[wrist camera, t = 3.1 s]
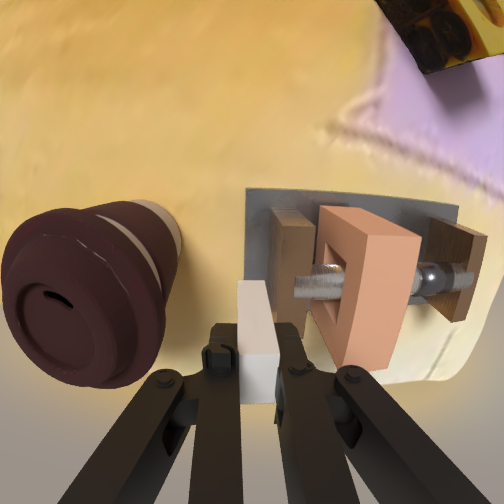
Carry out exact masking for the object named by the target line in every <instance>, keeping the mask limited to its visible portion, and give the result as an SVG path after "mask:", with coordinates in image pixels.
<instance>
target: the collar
mask: <svg viewBox="0 0 504 504" xmlns="http://www.w3.org/2000/svg"><path fill="white" fill-rule="evenodd" d="M421 239H422V237H421V236H419V235H417V234H415V233H413V232H411V231H409V230H407V229H405V228H403V227H401V226H398V225H396V224H394V223H392V222H390V221H388V220H386V219H384V218H381V217H379V216H377V215H375V214H373V213H371V212H368V211H366V210H364V209H362V208H356V207H340V206H322V205H320V209H319V222H318V234H317V245H316V256H315V264H346V271H345V277H344V284H343V290H342V296H341V299H328V300H310V310H311V312H312V314H313V316H314V319H315V321H316V323H317V325H318V327H319V330H320V332H321V334H322V336H323V338H324V341H325V343H326V345H327V347H328V350H329V352H330V354H331V356H332V359H333V361H334V363H335V365H336V368H337V370H338V369H339V368H340V367H343V366H345V365H357V366H360V367H362V368H364V369H365V370H366V371H375V370H381V369H387V368H388V365H389V362H390V359H391V356H392V354H393V351H394V348H395V345H396V342H397V338H398V335H399V332H400V329H401V325H402V322H403V319H404V315H405V312H406V308H407V304H408V300H409V296H410V292H411V288H412V284H413V280H414V275H415V271H416V266H417V261H418V256H419V251H420V245H421Z"/></svg>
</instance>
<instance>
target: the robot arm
mask: <svg viewBox="0 0 504 504" xmlns="http://www.w3.org/2000/svg"><path fill="white" fill-rule="evenodd" d="M202 363H203V369H202V370H201V371H200V372H198V373H196V374H193V375H188V376H182V375H181V374H180V373H179V372H177V371H175V370H173V369H160V370H157V371H155V372H153V373H152V374H151V375H150V376H149V377H148V378H147V379H146V381H145V382H144V384H143V385H142V386H141V388H140V389H139V390H138V392H137V393H136V394H135V396H134V397H133V399H132V400H131V401H130V403H129V404H128V406H127V407H126V408H125V410H124V411H123V412H122V414H121V415H120V416H119V418H118V419H117V421H116V422H115V423H114V425H113V426H112V428H111V429H110V430H109V432H108V433H107V435H106V436H105V437H104V439H103V440H102V441H101V443H100V444H99V446H98V447H97V448H96V450H95V451H94V453H93V454H92V455H91V457H90V458H89V460H88V461H87V462H86V464H85V465H84V467H83V468H82V470H81V471H80V472H79V474H78V475H77V476H76V478H75V479H74V481H73V482H72V483H71V485H70V486H69V488H68V489H67V491H66V492H65V493H64V495H63V496H62V498H61V499H60V501H59V502H58V503H57V504H154V502H155V500H156V498H157V496H158V494H159V492H160V490H161V488H162V486H163V484H164V481H165V479H166V477H167V475H168V473H169V471H170V469H171V467H172V465H173V463H174V461H175V459H176V457H177V455H178V453H179V450H180V448H181V446H182V444H183V442H184V440H185V438H186V436H187V434H188V432H189V429H190V427H191V425H196V431H195V440H194V450H193V459H192V469H191V479H190V490H189V502H188V504H243V481H242V480H243V479H242V453H241V422H240V404H271V403H272V404H273V403H275V398H276V404H277V405H276V413H275V421H274V424H277V427H278V434H279V440H280V448H281V454H282V462H283V469H284V475H285V483H286V489H287V496H288V503H289V504H360V502H359V498H358V495H357V492H356V489H355V485H354V483H353V479H352V476H351V473H350V470H349V466H348V463H347V460H346V457H345V454H346V456H347V457H348V459H349V460H350V462H351V463H352V465H353V466H354V467H355V469H356V471H357V472H358V474H359V475H360V477H361V478H362V479H363V481H364V482H365V484H366V485H367V487H368V488H369V489H370V491H371V492H372V494H373V495H374V497H375V498H376V499H377V501H378V502H379V504H491V503H490V502H489V501H488V500H487V499H486V497H484V495H483V494H482V493H481V492H480V491H479V490H478V489H477V488H476V487H475V486H474V485H473V484H472V482H471V481H470V480H469V479H468V478H467V477H466V476H465V475H464V474H463V473H462V472H461V471H460V470H459V468H458V467H456V465H455V464H454V463H453V462H452V461H451V460H450V459H449V458H448V457H447V456H446V455H445V454H444V452H443V451H442V450H441V449H440V448H439V447H438V446H437V445H436V444H435V443H434V442H433V441H432V440H431V439H430V437H429V436H428V435H427V434H426V433H425V432H424V431H423V430H422V429H421V428H420V427H419V426H418V425H417V424H416V423H415V421H413V419H412V418H411V417H410V416H409V415H408V414H407V413H406V412H405V411H404V410H403V409H402V408H401V407H400V406H399V404H398V403H397V402H396V401H395V400H394V399H393V398H392V397H391V396H390V395H389V394H388V393H387V392H386V391H385V390H384V388H383V387H382V386H381V385H380V384H379V383H378V382H377V381H376V380H375V379H374V378H373V377H372V376H371V375H370V374H369V373H368V371H366V370H365V369H364V368H362V367H360V366H357V365H345V366H343V367H340V368H339V369H338V371H337V372H336V373H330V372H324V371H320V370H318V369H316V367H315V366H314V364H313V363H312V362H310V361H309V360H308V359H307V356H306V353H305V350H304V347H303V344H302V341H301V338H300V336H299V332H298V329H297V327H295V326H294V325H293V324H292V323H291V322H283V323H273V318H272V313H271V309H270V304H269V299H268V295H267V290H266V285H265V281H264V280H237V324H231V323H216V324H215V325H214V326H213V327H212V329H211V333H210V340H209V345H207V346H206V347H205V348H203V350H202ZM344 453H345V454H344Z"/></svg>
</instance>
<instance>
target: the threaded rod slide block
mask: <svg viewBox="0 0 504 504" xmlns="http://www.w3.org/2000/svg"><path fill="white" fill-rule="evenodd" d="M320 205H322V206H340V207H356V208H362V209H364V210H366V211H368V212H371V213H373V214H375V215H377V216H379V217H381V218H384V219H386V220H388V221H390V222H392V223H394V224H396V225H398V226H401V227H403V228H405V229H407V230H409V231H411V232H413V233H415V234H417V235H419V236H421V237H422V239H421V245H420V251H419V256H418V261H417V266H416V271H415V275H414V280H413V284H412V288H411V292H410V296H409V300H408V304H407V305H413V304H423V303H430V304H431V305H432V306H433V307H434V308H435V309H436V310H438V311H439V312H440V313H441V314H442V315H443V316H444V317H445V318H446V319H448V320H449V321H450V322H451V323H453V322H458V321H463V320H465V319H466V316H467V313H468V310H469V307H470V304H471V301H472V297H473V294H474V291H475V287H476V284H477V280H478V277H479V273H480V269H481V265H482V261H483V256H484V252H485V247H486V242H487V237H488V236H486V235H484V234H482V233H479V232H477V231H475V230H472V229H470V228H467V227H465V226H463V225H460V224H457V216H458V209H459V206H458V205H455V204H448V203H441V202H434V201H426V200H419V199H410V198H402V197H393V196H383V195H373V194H361V193H349V192H336V191H321V190H303V189H281V188H246V200H245V246H244V280H264V281H265V285H266V290H267V295H268V299H269V304H270V309H271V313H272V318H273V323H283V322H291V323H292V324H293V325H294V326H295V327H297V329H298V332H299V336H300V338H301V339H303V336H304V329H305V322H306V314H307V311H311V310H310V300H328V299H341V296H342V290H343V284H344V277H345V271H346V264H315V256H316V245H317V234H318V222H319V209H320Z"/></svg>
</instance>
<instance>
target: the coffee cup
mask: <svg viewBox="0 0 504 504" xmlns="http://www.w3.org/2000/svg"><path fill="white" fill-rule="evenodd" d="M180 251H181V236H180V231H179V228H178V226H177V223H176V222H175V220H174V218H173V217H172V216H171V214H170V213H169V212H168V211H167V210H166V209H164V208H163V207H162V206H160V205H158V204H156V203H154V202H151V201H147V200H133V201H117V202H111V203H107V204H102V205H98V206H94V207H90V208H86V209H81V210H79V209H73V208H60V209H54V210H50V211H47V212H45V213H42V214H39V215H36V216H34V217H32V218H30V219H28V220H26V221H25V222H23V223H22V224H21V225H20V226H19V227H18V228H17V229H16V230H15V231H14V233H13V234H12V236H11V237H10V239H9V241H8V243H7V245H6V247H5V251H4V254H3V258H2V264H1V285H2V302H3V310H4V314H5V317H6V321H7V323H8V326H9V328H10V330H11V333H12V335H13V337H14V339H15V340H16V342H17V343H18V345H19V346H20V348H21V349H22V350H23V352H24V353H25V354H26V355H27V357H28V358H29V359H30V360H31V361H32V362H33V363H35V364H36V365H37V366H38V367H39V368H40V369H41V370H43V371H44V372H46V373H47V374H48V375H50V376H52V377H53V378H55V379H57V380H59V381H62V382H64V383H66V384H70V385H75V386H79V387H93V388H99V389H116V388H120V387H124V386H128V385H130V384H132V383H134V382H136V381H138V380H139V379H140V378H142V377H143V376H144V375H145V374H146V373H147V372H148V371H149V370H150V369H151V367H152V365H153V364H154V362H155V359H156V357H157V355H158V352H159V349H160V347H161V344H162V341H163V337H164V332H165V323H166V315H165V307H166V303H167V300H168V297H169V294H170V291H171V287H172V284H173V281H174V278H175V275H176V271H177V264H178V258H179V255H180Z"/></svg>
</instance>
